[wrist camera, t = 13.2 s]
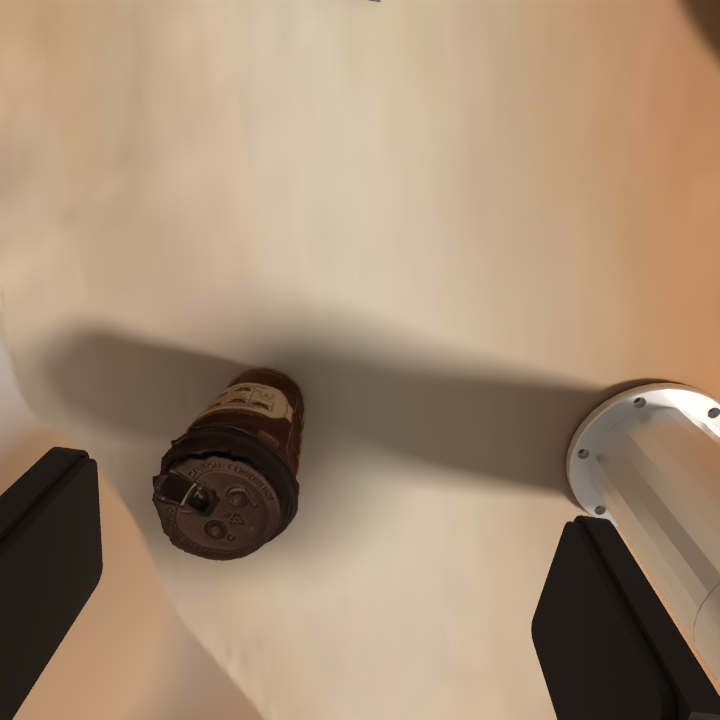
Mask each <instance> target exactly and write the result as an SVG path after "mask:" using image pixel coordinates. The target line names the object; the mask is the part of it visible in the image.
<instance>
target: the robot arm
mask: <svg viewBox="0 0 720 720" xmlns="http://www.w3.org/2000/svg"><path fill="white" fill-rule="evenodd" d="M566 471H567V478H568V481H569V484H570V487H571V489H572V491H573V493H574V495H575V497H576V499H577V500H578V501H579V503H580V504H581V505H582V507H583V508H584V509H585V510H586V511H587V512H588V513H589V514H591V515H592V516H593V517H589V516H581V515H580V516H577V517H576V518H575V519H574V521H573V522H570V521H569V522H567V523H566V524H565V526H564V529H563V532H562V535H561V538H560V541H559V544H558V547H557V549H556V552H555V555H554V558H553V561H552V564H551V567H550V570H549V573H548V576H547V579H546V582H545V585H544V588H543V590H542V593H541V596H540V599H539V602H538V605H537V608H536V611H535V614H534V617H533V620H532V627H531V632H532V639H533V643H534V646H535V649H536V653H537V656H538V659H539V662H540V665H541V668H542V672H543V675H544V678H545V681H546V684H547V688H548V691H549V694H550V697H551V700H552V704H553V707H554V710H555V713H556V716H557V720H720V696H719V695H718V693H717V691H716V690H715V688H714V686H713V685H712V683H711V682H710V680H709V678H708V677H707V675H706V674H705V672H704V670H703V669H702V667H701V665H700V664H699V662H698V661H697V659H696V657H695V656H694V654H693V653H692V651H691V649H690V648H689V646H688V645H687V643H686V641H685V640H684V638H683V636H682V635H681V633H680V632H679V630H678V628H677V627H676V625H675V624H674V622H673V620H672V619H671V617H670V615H669V614H668V612H667V611H666V609H665V607H664V606H663V604H662V603H661V601H660V599H659V598H658V596H657V594H656V593H655V591H654V590H653V588H652V586H651V585H650V583H649V582H648V580H647V578H646V577H645V575H644V573H643V572H642V570H641V569H640V567H639V565H638V564H637V562H636V561H635V559H634V557H633V556H632V554H631V553H630V551H629V549H628V548H627V546H626V544H625V543H624V541H623V540H622V538H621V536H620V535H619V533H618V532H617V530H616V528H615V527H618V528H619V529H620V530H621V532H622V533H623V535H624V537H625V538H626V540H627V541H628V543H629V545H630V546H631V548H632V549H633V551H634V553H635V554H636V556H637V557H638V559H639V560H640V562H641V564H642V565H643V567H644V568H645V570H646V572H647V573H648V575H649V576H650V578H651V580H652V581H653V583H654V584H655V586H656V587H657V589H658V591H659V592H660V594H661V595H662V597H663V599H664V600H665V602H666V603H667V605H668V607H669V608H670V610H671V611H672V613H673V614H674V616H675V618H676V619H677V621H678V622H679V624H680V626H681V627H682V629H683V630H684V632H685V634H686V635H687V637H688V638H689V640H690V641H691V643H692V645H693V646H694V648H695V649H696V651H697V653H698V654H699V655H700V657H701V659H702V660H703V662H704V663H705V665H706V667H707V668H708V670H709V671H710V673H711V674H712V676H713V677H714V679H715V680H716V682H717V683H718V684H719V686H720V403H719V402H718V401H717V400H716V399H714V398H713V397H711V396H710V395H708V394H706V393H705V392H703V391H701V390H699V389H696V388H693V387H690V386H687V385H682V384H675V383H653V384H648V385H643V386H638V387H634V388H632V389H629V390H626V391H624V392H621V393H619V394H617V395H615V396H613V397H612V398H610V399H608V400H606V401H605V402H603V403H602V404H601V405H600V406H598V407H597V408H596V409H595V410H593V411H592V412H591V413H590V414H589V415H588V416H587V418H586V419H585V420H584V421H583V422H582V423H581V425H580V426H579V428H578V429H577V431H576V433H575V434H574V436H573V438H572V441H571V443H570V446H569V449H568V453H567V460H566ZM614 526H615V527H614ZM102 568H103V563H102V544H101V526H100V508H99V490H98V472H97V463H96V461H95V460H94V459H89V455H88V453H87V452H86V451H85V450H78V449H70V448H62V447H53V448H52V449H50V450H49V451H48V452H47V453H46V454H45V455H44V456H43V457H42V458H41V459H40V460H38V461H37V462H36V463H35V464H34V465H33V466H32V467H31V468H30V469H29V470H28V471H27V472H26V473H24V474H23V475H22V476H21V477H20V478H19V479H18V480H17V481H16V482H15V483H14V484H13V485H12V486H11V487H10V488H8V489H7V490H6V491H5V492H4V493H3V494H2V495H1V496H0V720H12V719H13V717H14V716H15V714H16V713H17V711H18V709H19V708H20V706H21V705H22V703H23V701H24V700H25V699H26V697H27V695H28V694H29V692H30V690H31V689H32V687H33V686H34V684H35V683H36V681H37V680H38V678H39V676H40V675H41V673H42V672H43V670H44V668H45V667H46V665H47V664H48V662H49V660H50V659H51V657H52V656H53V654H54V653H55V651H56V650H57V648H58V646H59V645H60V643H61V642H62V640H63V639H64V637H65V635H66V634H67V632H68V631H69V629H70V627H71V626H72V624H73V623H74V621H75V619H76V618H77V616H78V615H79V613H80V612H81V610H82V608H83V607H84V605H85V604H86V602H87V601H88V599H89V597H90V596H91V594H92V593H93V591H94V590H95V588H96V586H97V584H98V583H99V580H100V577H101V574H102Z"/></svg>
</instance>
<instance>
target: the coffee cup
mask: <svg viewBox="0 0 720 720" xmlns="http://www.w3.org/2000/svg"><path fill="white" fill-rule="evenodd" d="M303 428H304V402H303V396H302V394H301V391H300V388H299V387H298V386H297V384H295V383H294V382H293V381H292V380H291V379H290V378H288V377H287V376H286V375H284V374H283V373H280V372H278V371H274V370H270V369H253V370H249V371H247V372H245V373H243V374H241V375H239V376H238V377H237V378H235V379H234V380H233V381H232V382H231V384H230V385H229V386H228V387H227V389H225V390H224V391H223V392H222V393H221V394H220V395H219V396H217V397H216V398H215V399H214V400H213V401H212V403H211V404H210V405H209V406H208V407H207V408H206V409H205V410H204V411H203V412H202V413H201V414H200V415H199V416H198V418H197V419H196V420H195V421H194V422H193V423H192V424H191V426H190V427H189V428H188V430H187V431H186V433H185V434H184V435H182V437H179V438H178V439H177V440H173V441H171V444H172V447H171V448H170V449H169V450H168V452H167V453H166V454H165V455H164V456H163V457H162V461H161V472H160V474H159V475H158V476H154V477H153V487H154V490H155V491H154V494H153V499H152V501H153V502H154V505H155V506H156V509H157V511H158V515H159V517H160V519H161V524H162V528H163V530H164V533H165V534H166V535H167V536H169V538H170V541H171V542H172V544H173V545H174V546H176V547H177V548H179V549H182V550H184V552H187V553H190V554H193V555H196V556H199V557H203V558H206V559H211V560H223V561H224V560H232V559H236V558H242V557H245V556H247V555H249V554H251V553H253V552H255V551H256V550H258V549H259V548H260V547H261V546H263V545H264V544H265V543H267V542H269V541H271V540H273V539H274V538H275V537H277V536H278V535H279V534H281V533H282V532H283V531H284V530H285V529H286V528H287V527H288V525H289V524H290V523H291V521H292V520H293V518H294V517H295V515H296V513H297V510H298V495H299V483H298V482H297V478H298V472H299V461H300V455H301V446H302V437H303Z"/></svg>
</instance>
